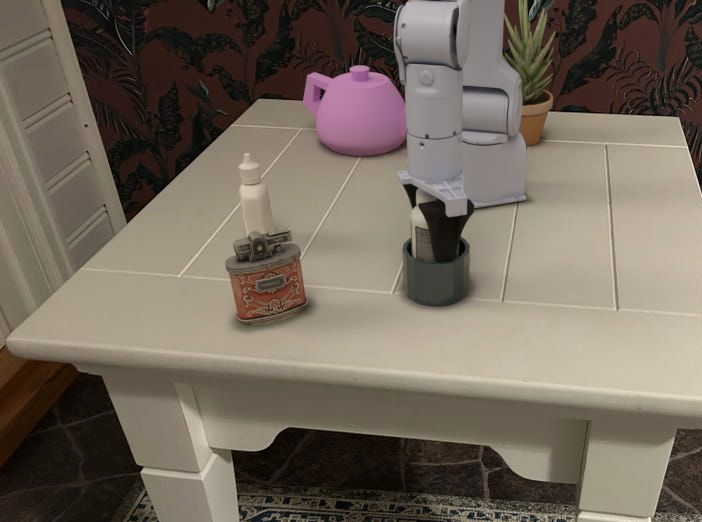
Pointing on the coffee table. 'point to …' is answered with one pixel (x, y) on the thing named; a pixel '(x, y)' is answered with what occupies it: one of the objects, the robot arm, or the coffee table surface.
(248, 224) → the eye dropper bottle
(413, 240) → the pill bottle
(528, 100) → the potted plant
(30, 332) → the coffee table surface
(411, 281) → the tube
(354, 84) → the teapot
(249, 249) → the lighter
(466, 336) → the coffee table surface
